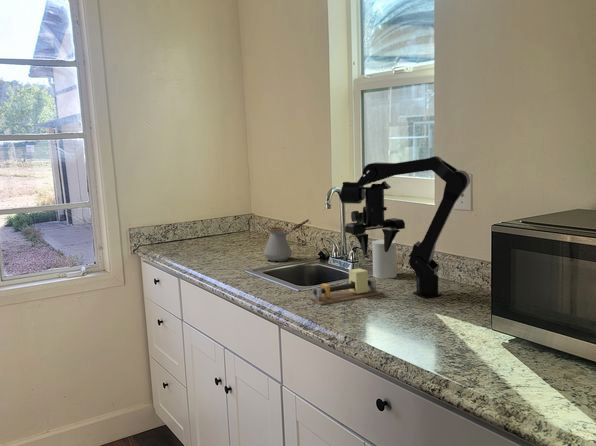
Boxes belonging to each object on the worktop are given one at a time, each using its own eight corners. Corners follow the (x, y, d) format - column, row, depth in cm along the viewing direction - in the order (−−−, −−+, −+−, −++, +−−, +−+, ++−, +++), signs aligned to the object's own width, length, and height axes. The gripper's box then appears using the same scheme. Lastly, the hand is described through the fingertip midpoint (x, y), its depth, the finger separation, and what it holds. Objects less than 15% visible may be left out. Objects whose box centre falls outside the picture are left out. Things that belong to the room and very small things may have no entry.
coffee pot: (271, 264, 224) (270, 226, 222) (259, 259, 234) (257, 223, 232) (318, 256, 234) (317, 220, 232) (304, 252, 244) (303, 217, 242)
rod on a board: (380, 294, 175) (380, 281, 175) (320, 305, 166) (320, 291, 166) (366, 288, 183) (366, 276, 182) (308, 298, 174) (307, 285, 173)
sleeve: (368, 291, 175) (367, 270, 174) (356, 293, 174) (356, 272, 173) (360, 288, 179) (359, 268, 178) (349, 290, 178) (348, 269, 177)
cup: (396, 278, 194) (395, 244, 192) (372, 278, 195) (371, 244, 194) (397, 273, 202) (396, 239, 200) (373, 272, 203) (373, 239, 202)
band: (330, 296, 170) (329, 285, 170) (326, 296, 170) (326, 286, 169) (325, 293, 173) (324, 283, 173) (321, 294, 173) (321, 284, 172)
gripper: (385, 199, 187) (386, 246, 189) (335, 204, 179) (336, 252, 181) (405, 202, 177) (406, 251, 179) (353, 207, 169) (355, 258, 171)
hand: (375, 253), depth 178 cm, fingers open, 7 cm apart
